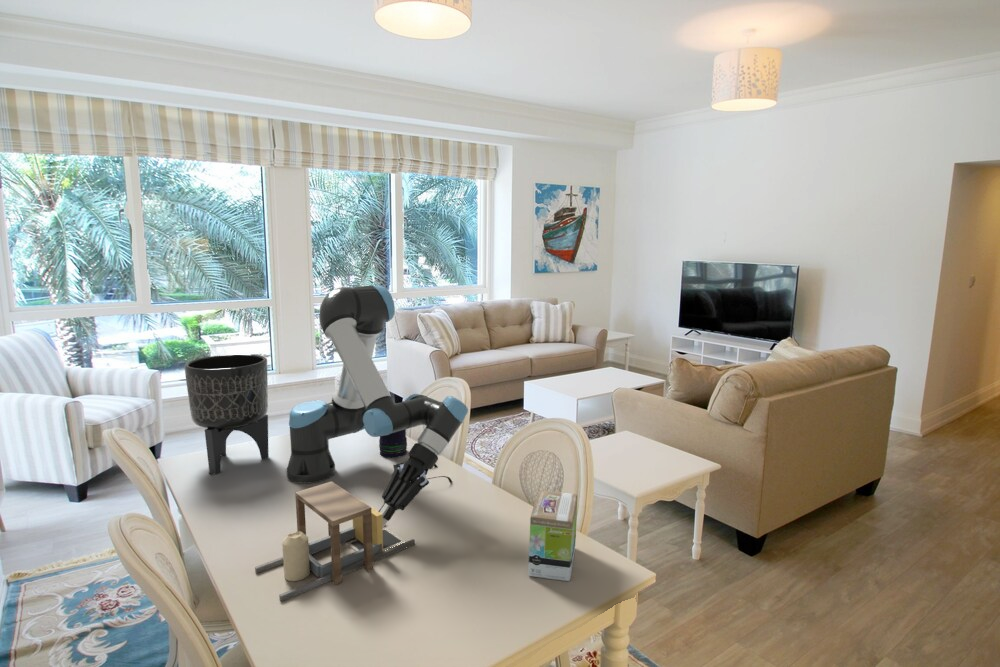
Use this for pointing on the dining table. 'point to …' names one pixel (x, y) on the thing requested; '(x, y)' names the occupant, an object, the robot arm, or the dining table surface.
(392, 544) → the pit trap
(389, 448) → the dark blue cylinder
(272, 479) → the dining table surface
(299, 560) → the candle
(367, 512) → the wooden stand with rails
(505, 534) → the dining table surface
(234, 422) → the planter
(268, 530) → the dining table surface
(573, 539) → the tea box
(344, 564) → the yellow panel grey frame
